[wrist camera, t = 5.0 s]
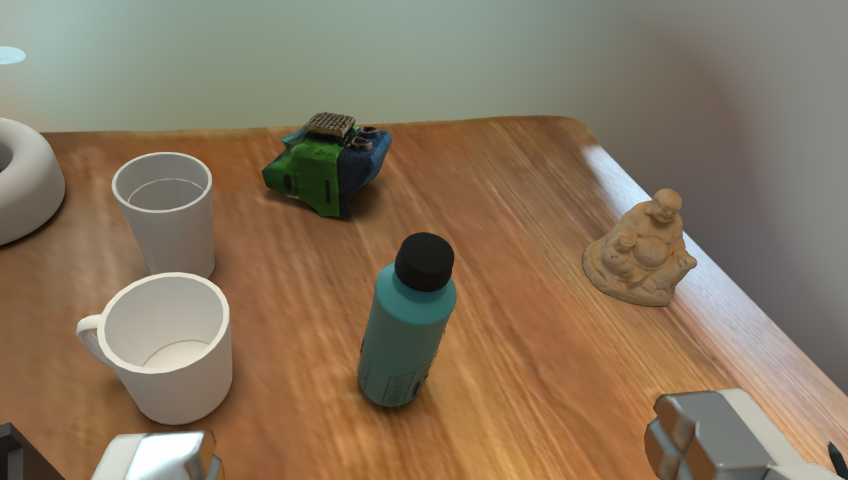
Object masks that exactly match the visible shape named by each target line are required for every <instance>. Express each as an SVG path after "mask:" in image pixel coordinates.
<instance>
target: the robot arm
mask: <svg viewBox="0 0 848 480" xmlns="http://www.w3.org/2000/svg"><path fill="white" fill-rule="evenodd" d="M653 409H654V411H655V412H656V414H657V417H656V418H655V419H654V420H652V421H651V422H650V423H649V424H648V425H647V428H646V432H645V435H644V442H645V452H646V455H647V458H648V461H649V464H650V465H651V467H652V469H653V471H654V473H655V475H656V476H657V477H658V478H660V479H661V480H845V479H843V478H841V477H840V476H838V475H836V474H834V473H833V472H831V471H829V470H828V469H826V468H824V467H822V466H821V465H819V464H817V463H807V462H806V460H805V459H804V458H803V457H802V456H801V455H800V453H799V452H798V451H797V450H796V449H795V448H794V446H793V445H792V444H791V443H790V442H789V441H788V439H787V438H786V437H785V436H784V435H783V434H782V432H781V431H780V430H779V429H778V428H777V427H776V425H775V424H774V423H773V422H772V421H771V420H770V418H769V417H768V416H767V415H766V414H765V413H764V411H763V410H762V409H761V408H760V407H759V406H758V404H757V403H756V402H755V401H754V400H753V398H752V397H751V396H750V395H749V394H748V393H747V392H745V391H744V390H742V389H740V388H738V389H724V390H713V391H710V390H705V391H694V392H683V393H672V394H662V395H661V396H660V397H658V398H657V399H656V402H655V405H654V407H653ZM215 446H216V440H215V437H214V434H213V431H212V430H196V431H176V432H156V433H141V434H125V435H117V436H116V437H115V438H114V439H113V440H112V441H111V442H110V443H109V444H108V446H107V448H106V450H105V452H104V454H103V456H102V458H101V460H100V462H99V464H98V466H97V468H96V470H95V472H94V474H93V476H92V478H91V480H225V472H224V466H223V463H222V459H220V458H219V457H217V456H216V455H214V454H213V453H214V450H215Z"/></svg>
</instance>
